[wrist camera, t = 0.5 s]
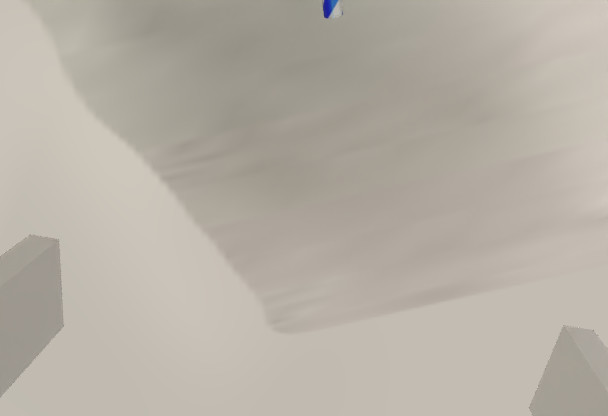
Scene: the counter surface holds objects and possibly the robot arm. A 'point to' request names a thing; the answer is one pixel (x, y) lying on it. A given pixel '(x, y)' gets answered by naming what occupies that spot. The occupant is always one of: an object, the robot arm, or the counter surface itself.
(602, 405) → the robot arm
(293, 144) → the counter surface
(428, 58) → the counter surface
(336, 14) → the cup
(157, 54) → the counter surface
